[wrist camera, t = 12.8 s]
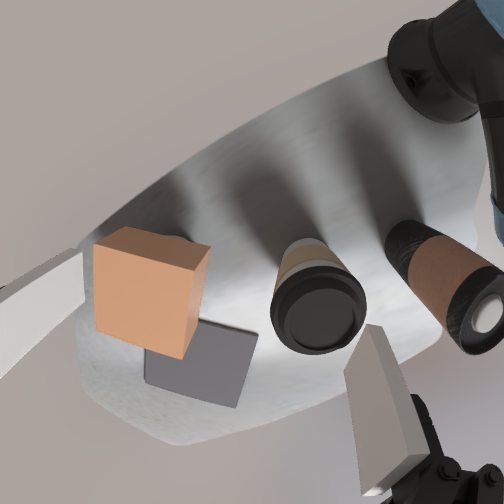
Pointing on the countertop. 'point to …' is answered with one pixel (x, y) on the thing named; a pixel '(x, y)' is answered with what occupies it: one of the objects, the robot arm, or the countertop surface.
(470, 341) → the travel mug
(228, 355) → the mat
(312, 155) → the countertop surface
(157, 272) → the orange block
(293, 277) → the coffee cup
